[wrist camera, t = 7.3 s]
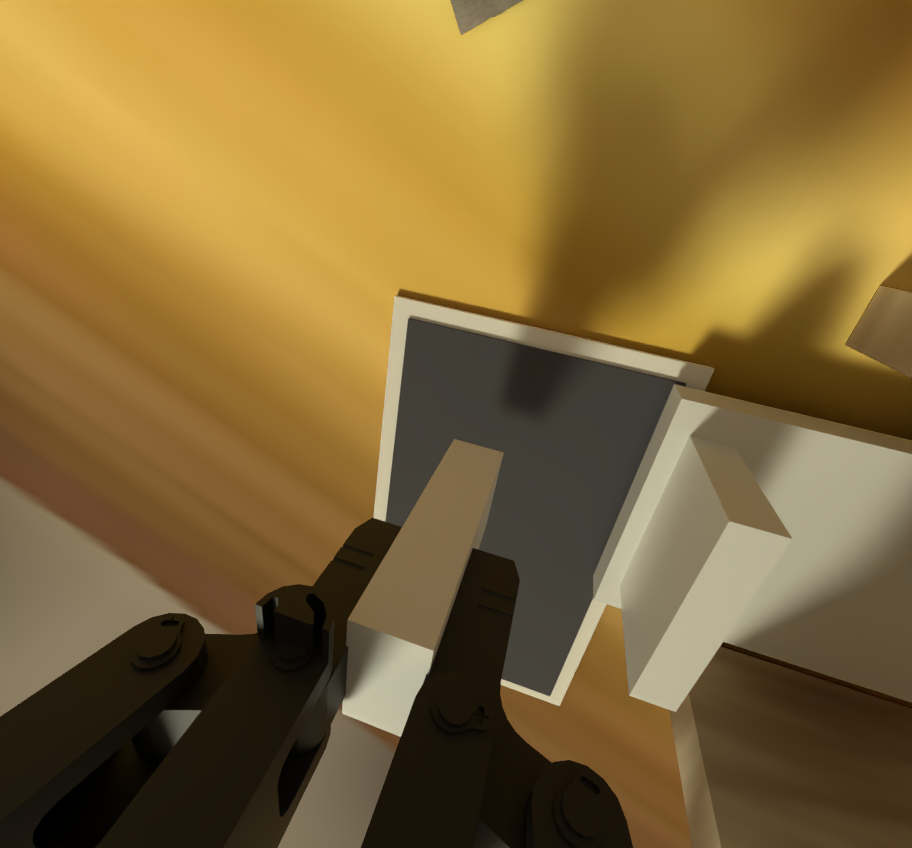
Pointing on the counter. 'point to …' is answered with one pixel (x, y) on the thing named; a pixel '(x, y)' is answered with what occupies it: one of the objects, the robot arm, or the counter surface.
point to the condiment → (478, 11)
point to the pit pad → (526, 457)
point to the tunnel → (800, 721)
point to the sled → (763, 548)
